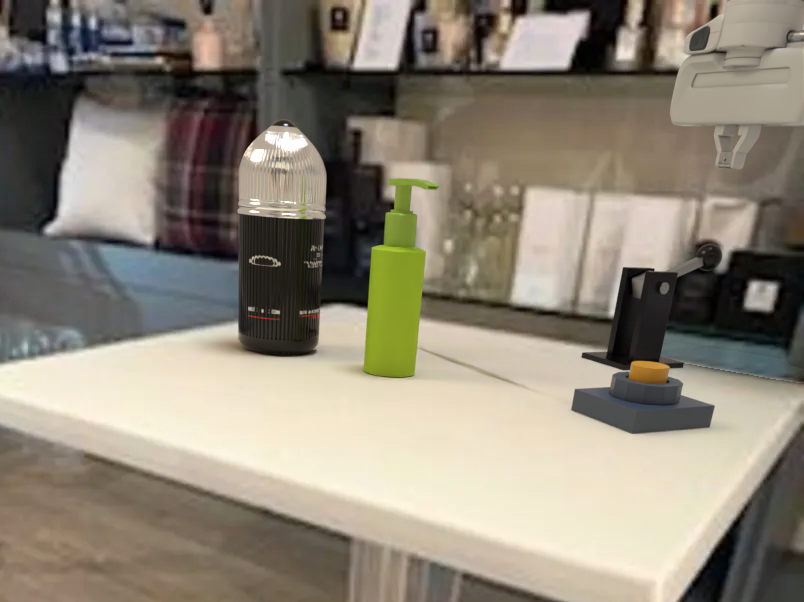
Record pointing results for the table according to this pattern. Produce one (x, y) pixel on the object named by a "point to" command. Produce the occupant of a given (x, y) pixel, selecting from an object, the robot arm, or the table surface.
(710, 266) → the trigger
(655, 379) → the button
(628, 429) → the button housing
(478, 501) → the table surface
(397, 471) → the table surface
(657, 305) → the bracket
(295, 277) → the spray bottle
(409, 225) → the soap dispenser
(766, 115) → the robot arm
